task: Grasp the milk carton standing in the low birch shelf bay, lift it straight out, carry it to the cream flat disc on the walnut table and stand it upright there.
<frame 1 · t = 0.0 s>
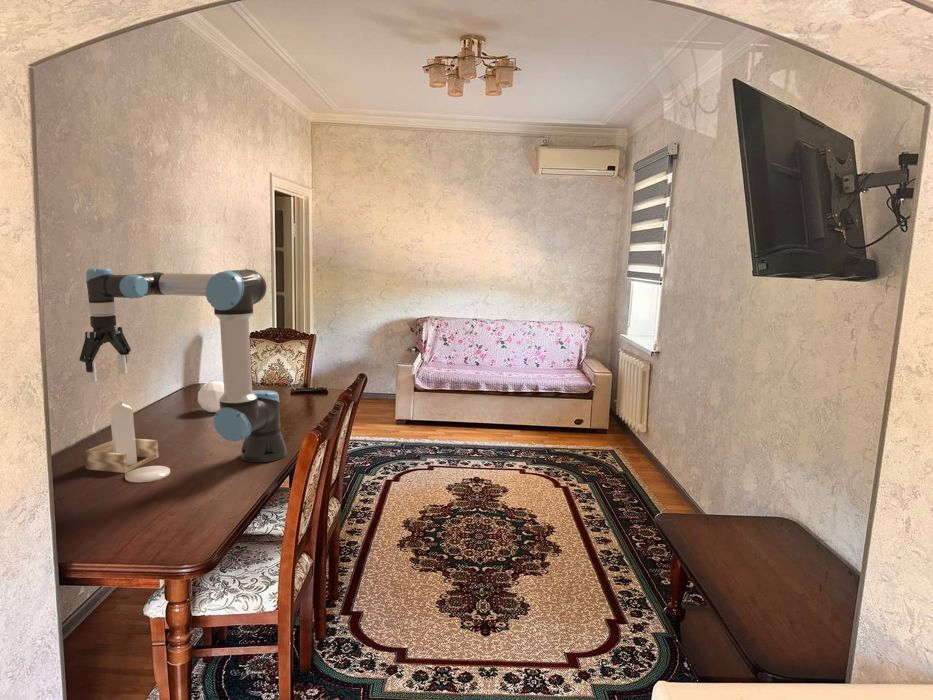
hand: (108, 377, 221), 28 cm above the table, fingers open, 13 cm apart
shelf bay: (123, 462, 220), on the table
cream flat disc: (147, 475, 208), on the table
geodesic sphere: (215, 412, 285), on the table
milk: (125, 463, 220), resting in shelf bay
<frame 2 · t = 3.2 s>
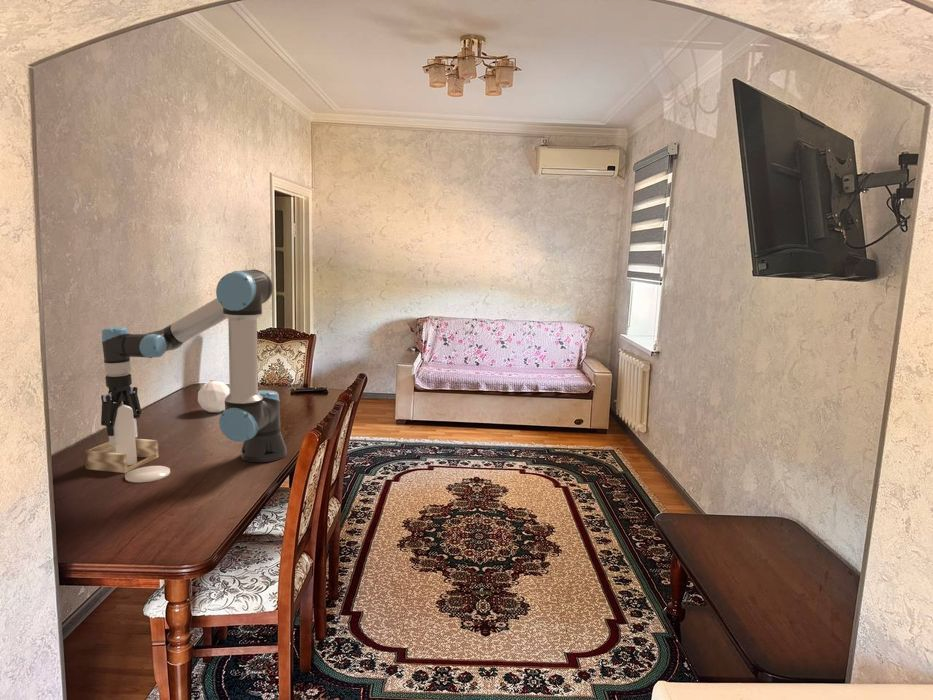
hand: (123, 440, 218), 8 cm above the table, fingers closed on milk, 8 cm apart
milk: (125, 463, 220), resting in shelf bay, touching gripper
everything else where it was.
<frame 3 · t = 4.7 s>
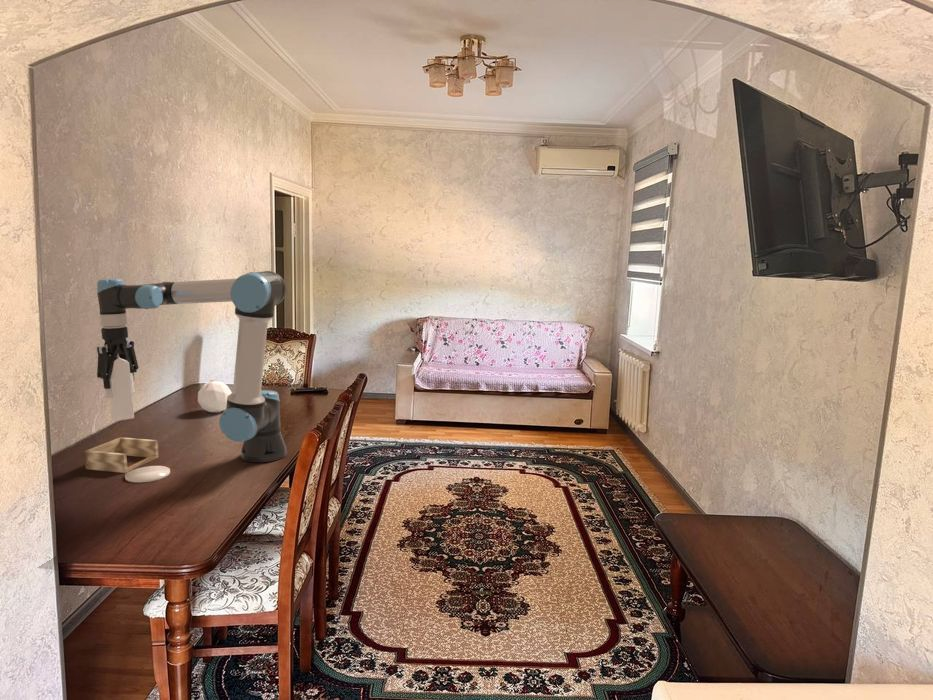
hand: (120, 394, 215), 24 cm above the table, fingers closed on milk, 8 cm apart
milk: (122, 418, 217), point 15 cm above the table, touching gripper
everything else where it was.
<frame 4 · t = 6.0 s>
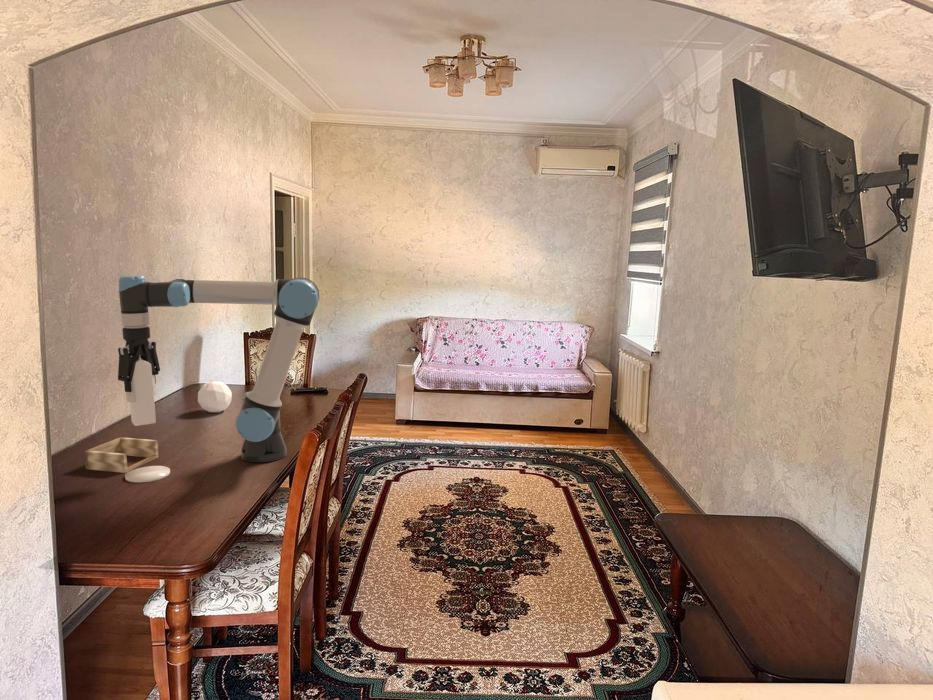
hand: (141, 398, 204), 25 cm above the table, fingers closed on milk, 8 cm apart
milk: (143, 423, 206), point 17 cm above the table, touching gripper
everything else where it was.
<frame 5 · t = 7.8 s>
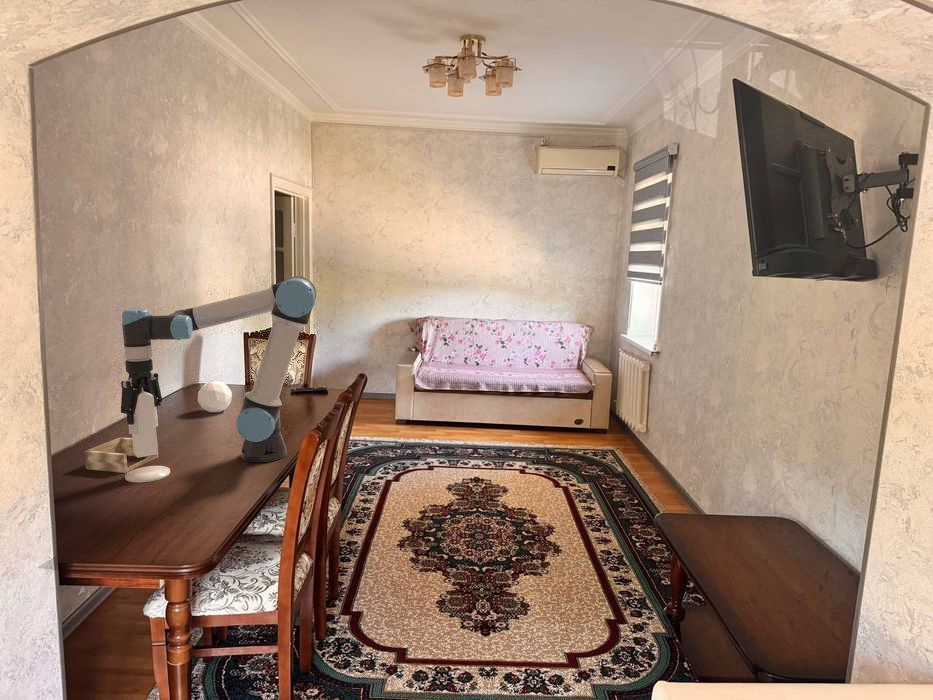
hand: (144, 429, 206), 15 cm above the table, fingers closed on milk, 8 cm apart
milk: (145, 454, 207), point 7 cm above the table, touching gripper
everything else where it was.
when the fingers open (10 cm above the table, at t = 9.3 s): milk drops 1 cm, resting on cream flat disc.
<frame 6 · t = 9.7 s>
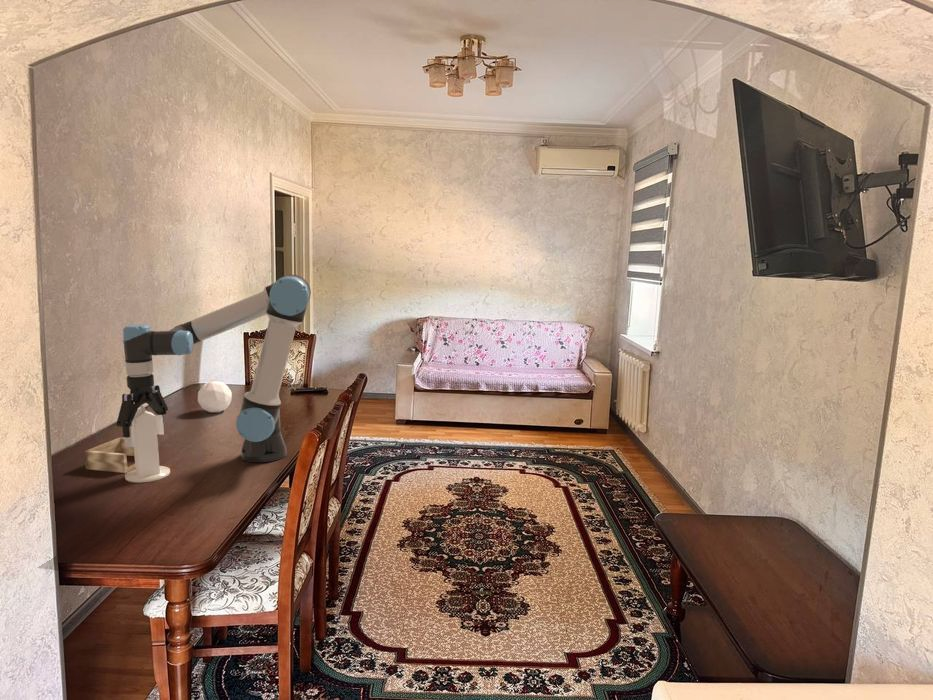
hand: (145, 440, 207), 11 cm above the table, fingers open, 13 cm apart
milk: (147, 473, 208), point 1 cm above the table, touching cream flat disc
everything else where it was.
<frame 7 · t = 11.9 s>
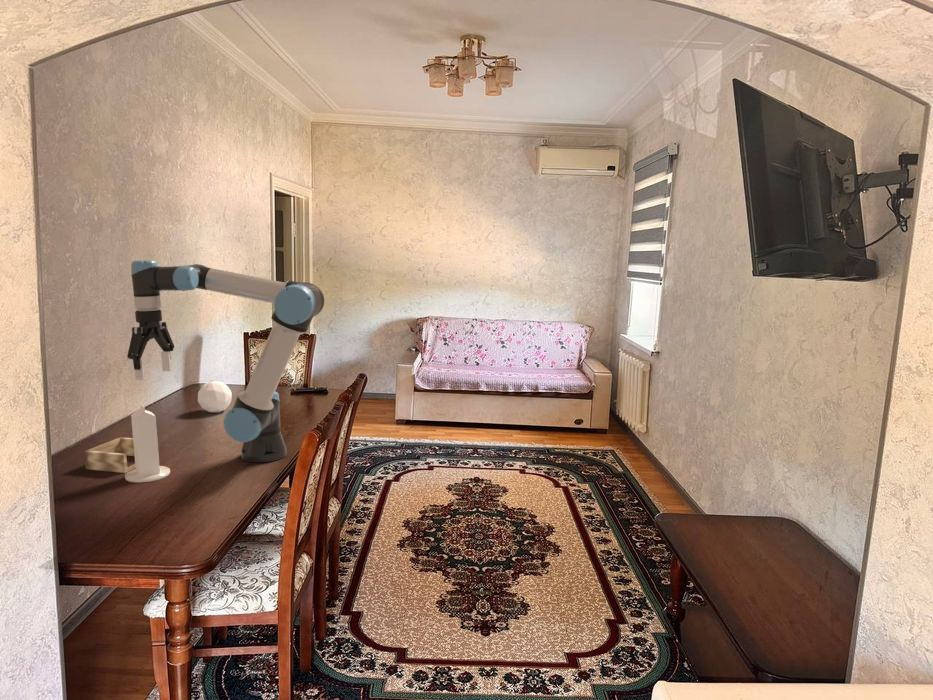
hand: (154, 375, 210), 31 cm above the table, fingers open, 13 cm apart
nothing on the table moved.
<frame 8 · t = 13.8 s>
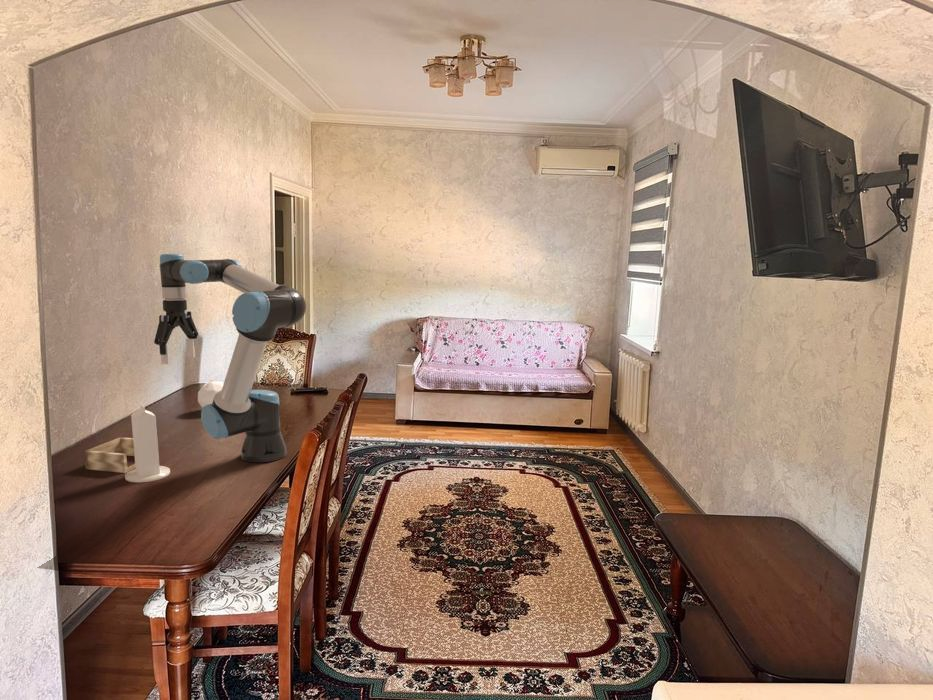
hand: (178, 360, 227), 33 cm above the table, fingers open, 13 cm apart
nothing on the table moved.
at the end: milk 0.0 cm from the cream flat disc (horizontally); milk tilted 0°; the gripper is holding nothing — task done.
